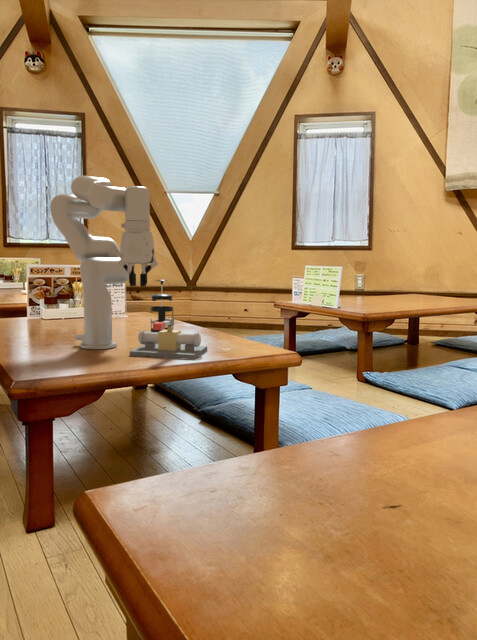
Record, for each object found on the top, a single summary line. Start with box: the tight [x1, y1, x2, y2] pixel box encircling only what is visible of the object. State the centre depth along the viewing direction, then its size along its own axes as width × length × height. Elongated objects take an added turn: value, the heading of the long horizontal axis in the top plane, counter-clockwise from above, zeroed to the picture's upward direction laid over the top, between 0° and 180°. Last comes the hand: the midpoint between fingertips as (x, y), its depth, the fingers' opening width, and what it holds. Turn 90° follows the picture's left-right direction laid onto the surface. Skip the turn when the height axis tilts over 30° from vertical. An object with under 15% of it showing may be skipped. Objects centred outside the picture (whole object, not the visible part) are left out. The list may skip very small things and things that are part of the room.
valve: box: [129, 326, 208, 360], centre depth 177 cm, size 22×16×9 cm
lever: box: [152, 317, 175, 330], centre depth 172 cm, size 14×3×2 cm, turn 168°
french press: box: [150, 279, 174, 333], centre depth 209 cm, size 12×9×23 cm
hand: (138, 285), depth 167 cm, fingers open, 2 cm apart
